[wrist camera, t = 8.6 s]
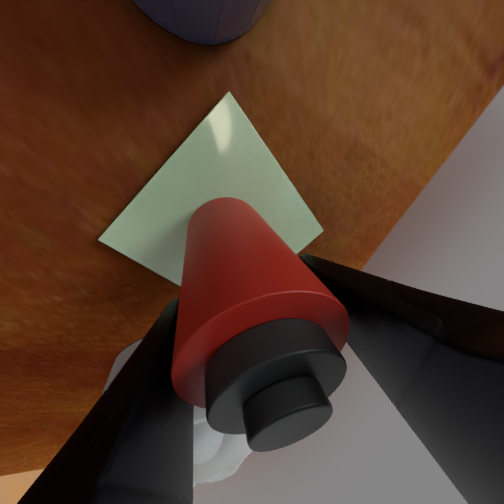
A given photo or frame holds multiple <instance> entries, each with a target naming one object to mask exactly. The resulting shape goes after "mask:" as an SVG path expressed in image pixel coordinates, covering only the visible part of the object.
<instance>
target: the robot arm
mask: <svg viewBox="0 0 504 504" xmlns="http://www.w3.org/2000/svg"><path fill="white" fill-rule="evenodd" d="M299 258H300V259H301V260H302V261H303V262H304V264H305V265H306V266H307V267H308V268H309V269H310V270H311V271H312V272H313V273H314V274H315V275H316V277H317V278H318V279H319V280H320V281H321V282H322V283H323V284H324V285H325V286H326V287H327V288H328V290H329V291H330V292H331V293H332V294H333V295H334V296H335V297H336V298H337V299H338V300H339V301H340V303H341V304H342V305H343V306H344V308H345V309H346V311H347V313H348V316H349V320H350V331H349V335H348V338H347V341H346V342H347V343H348V345H349V346H350V347H351V349H352V350H353V351H354V353H355V354H356V355H357V357H358V358H359V359H360V361H361V362H362V363H363V365H364V366H365V367H366V369H367V370H368V371H369V373H370V374H371V375H372V376H373V378H374V379H375V380H376V381H377V383H378V384H379V386H380V387H381V388H382V390H383V391H384V392H385V393H386V395H387V396H388V398H389V399H390V400H391V402H392V403H393V404H394V405H395V406H396V409H397V410H398V411H399V412H400V414H401V415H402V417H403V418H404V419H405V421H406V422H407V423H408V425H409V426H410V427H411V429H412V430H413V431H414V432H415V434H416V435H417V436H418V438H419V439H420V440H421V442H422V443H423V444H424V445H425V447H426V448H427V450H428V451H429V452H430V454H431V455H432V456H433V458H434V459H435V460H436V462H437V463H438V464H439V466H440V467H441V468H442V470H443V471H444V472H445V474H446V475H447V476H448V478H449V479H450V480H451V481H452V483H453V484H454V486H455V487H456V488H457V490H458V491H459V492H460V494H461V495H462V496H463V498H464V499H465V500H466V501H467V503H468V504H504V311H500V310H496V309H492V308H488V307H484V306H480V305H476V304H472V303H468V302H465V301H461V300H457V299H453V298H449V297H445V296H441V295H438V294H434V293H430V292H427V291H423V290H419V289H416V288H413V287H410V286H406V285H403V284H400V283H397V282H394V281H388V280H387V279H384V278H381V277H378V276H375V275H371V274H368V273H365V272H362V271H359V270H356V269H353V268H350V267H347V266H344V265H340V264H337V263H334V262H331V261H328V260H325V259H322V258H319V257H316V256H312V255H309V254H303V255H301V256H299ZM179 299H180V298H177V299H174V300H172V301H170V302H169V304H168V305H167V306H166V308H165V309H164V311H163V312H162V313H161V315H160V316H159V317H158V319H157V320H156V322H155V323H154V324H153V326H152V327H151V328H150V330H149V331H148V333H147V334H146V335H145V337H144V338H143V339H142V341H141V342H140V344H139V345H138V346H137V348H136V349H135V350H134V352H133V353H132V355H131V356H130V357H129V359H128V360H127V361H126V363H125V364H124V366H123V367H122V368H121V370H120V371H119V372H118V374H117V375H116V377H115V378H114V379H113V381H112V382H111V383H110V385H109V386H108V389H107V390H105V392H104V393H103V394H102V396H101V397H100V398H99V400H98V401H97V403H96V404H95V405H94V407H93V408H92V409H91V411H90V412H89V413H88V415H87V416H86V417H85V419H84V420H83V421H82V423H81V424H80V425H79V427H78V428H77V429H76V430H75V432H74V433H73V434H72V435H71V437H70V438H69V439H68V441H67V442H66V443H65V444H64V446H63V447H62V448H61V449H60V451H59V452H58V453H57V454H56V456H55V457H54V458H53V459H52V461H51V462H50V463H49V464H48V466H47V467H46V468H45V469H44V471H43V472H42V473H41V474H40V476H39V477H38V478H37V479H36V480H35V482H34V483H33V484H32V485H31V487H30V488H29V489H28V490H27V492H26V493H25V494H24V496H23V497H22V498H21V499H20V500H19V502H18V503H17V504H193V503H192V502H193V436H194V405H191V404H190V403H188V402H186V401H184V400H183V399H182V398H181V397H180V396H179V395H178V394H177V393H176V391H175V389H174V387H173V385H172V381H171V368H172V359H173V351H174V342H175V333H176V325H177V316H178V307H179Z"/></svg>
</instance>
